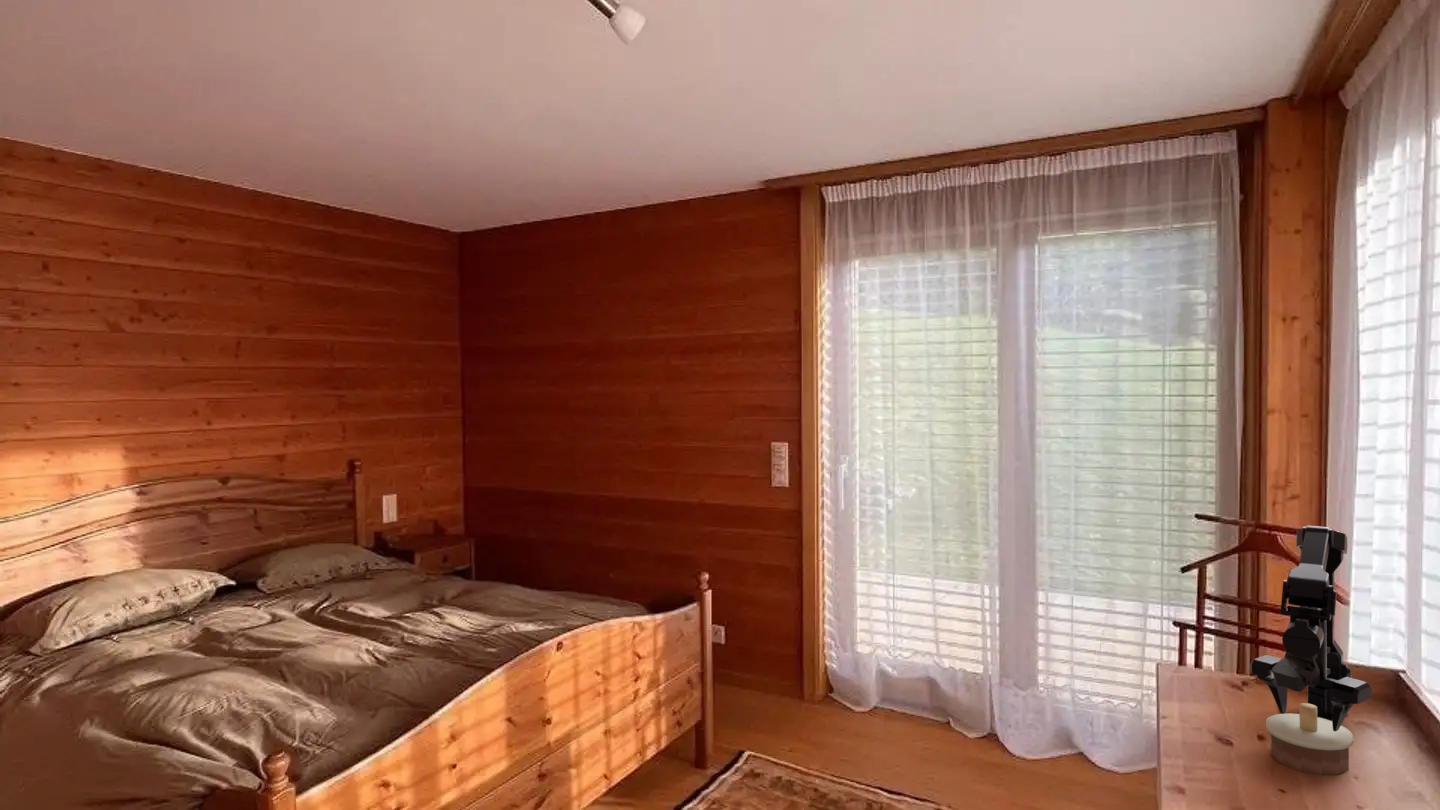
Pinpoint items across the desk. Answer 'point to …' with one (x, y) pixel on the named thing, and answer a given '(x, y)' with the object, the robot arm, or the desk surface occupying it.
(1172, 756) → the desk surface
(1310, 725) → the lid
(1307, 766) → the box
